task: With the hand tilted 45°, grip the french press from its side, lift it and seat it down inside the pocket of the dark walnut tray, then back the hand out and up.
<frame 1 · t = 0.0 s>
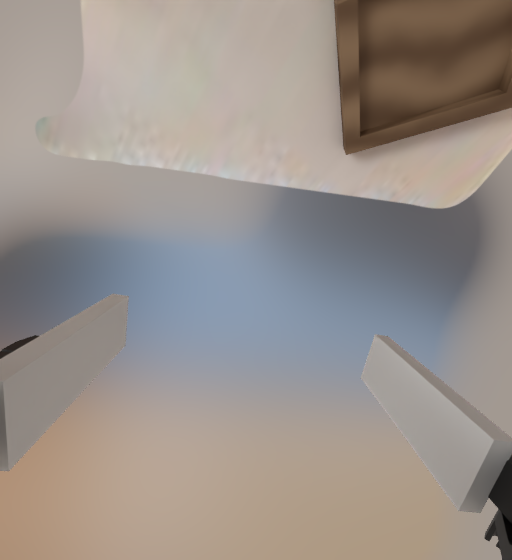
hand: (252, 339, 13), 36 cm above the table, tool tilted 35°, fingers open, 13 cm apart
walnut tray: (430, 45, 30), on the table
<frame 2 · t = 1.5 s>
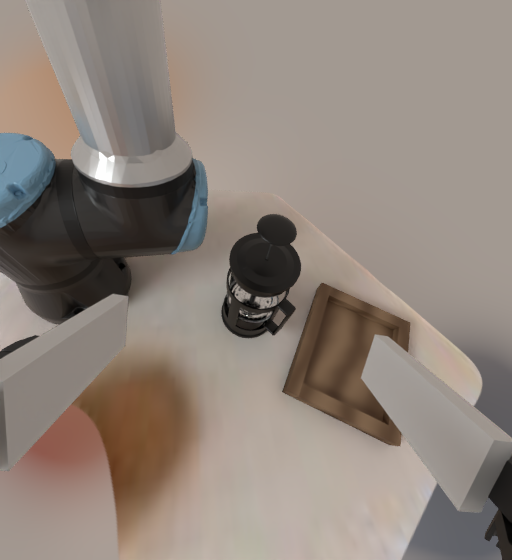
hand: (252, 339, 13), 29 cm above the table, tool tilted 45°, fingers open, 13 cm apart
french press: (249, 315, 45), on the table
walnut tray: (348, 356, 44), on the table
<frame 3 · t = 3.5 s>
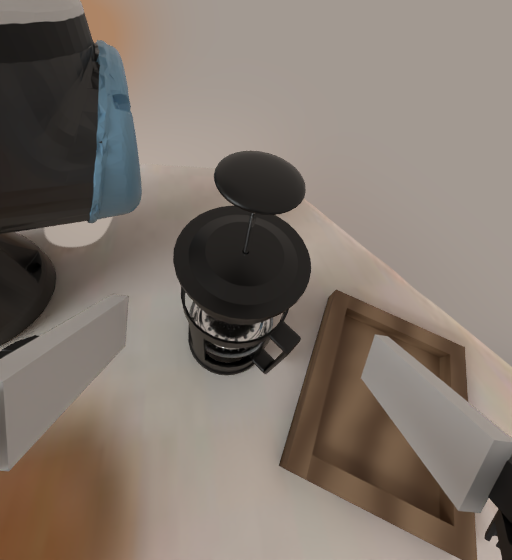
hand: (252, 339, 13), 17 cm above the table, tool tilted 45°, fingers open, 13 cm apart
french press: (230, 338, 30), on the table
walnut tray: (377, 399, 29), on the table
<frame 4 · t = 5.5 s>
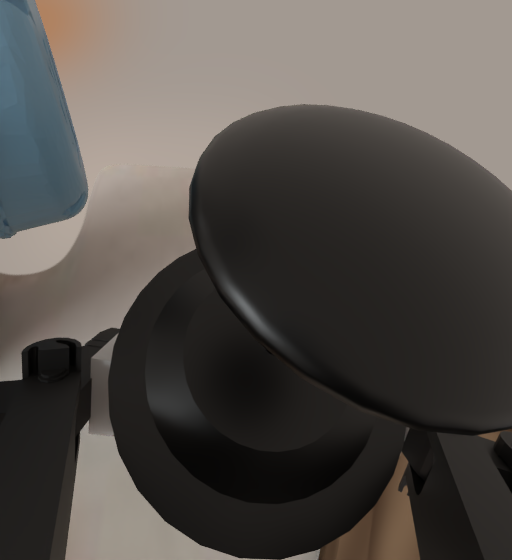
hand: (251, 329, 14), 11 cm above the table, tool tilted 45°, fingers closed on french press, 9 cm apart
french press: (231, 405, 22), on the table, touching gripper
walnut tray: (440, 497, 21), on the table
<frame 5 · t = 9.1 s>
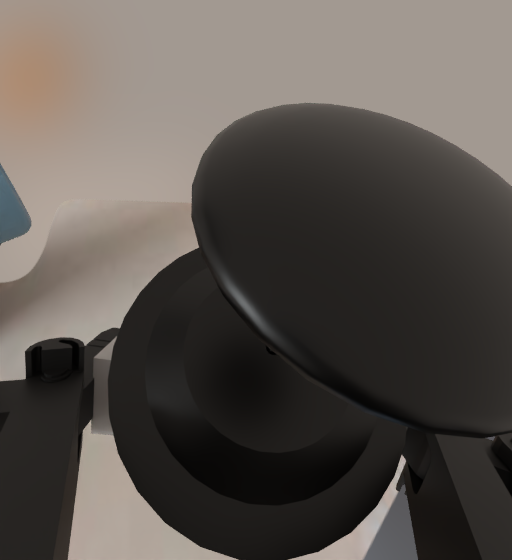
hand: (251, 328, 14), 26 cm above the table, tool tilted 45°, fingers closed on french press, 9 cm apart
french press: (231, 406, 22), point 15 cm above the table, touching gripper
when the fingers open (13 cm above the table, at t = 12.3 s): french press drops 1 cm, resting on walnut tray.
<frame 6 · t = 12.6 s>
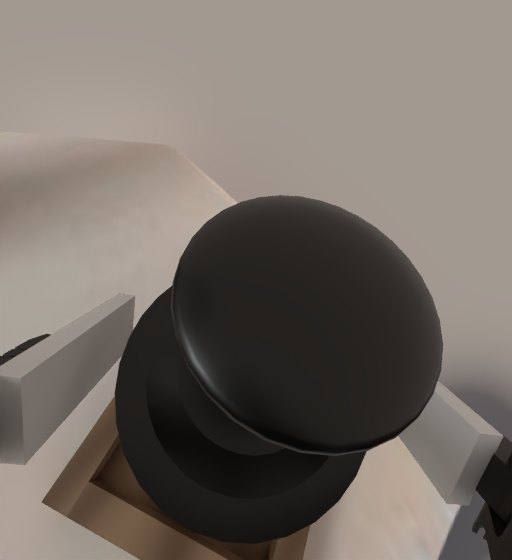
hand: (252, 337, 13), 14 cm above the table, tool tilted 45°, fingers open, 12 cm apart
french press: (229, 407, 23), point 1 cm above the table, touching walnut tray
walnut tray: (228, 406, 24), on the table
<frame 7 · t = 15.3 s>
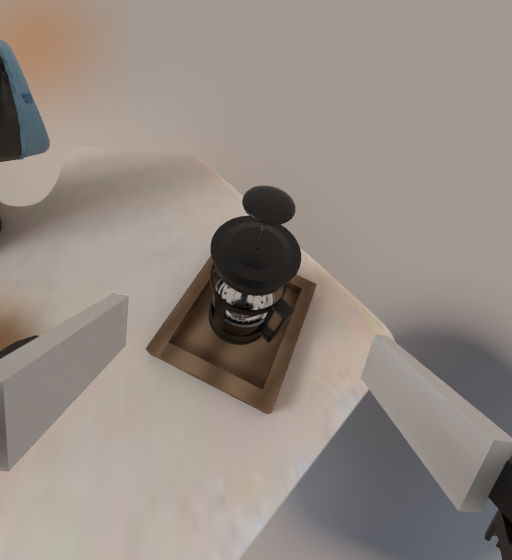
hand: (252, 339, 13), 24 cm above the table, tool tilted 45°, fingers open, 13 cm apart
french press: (241, 318, 38), point 1 cm above the table, touching walnut tray
walnut tray: (240, 318, 39), on the table
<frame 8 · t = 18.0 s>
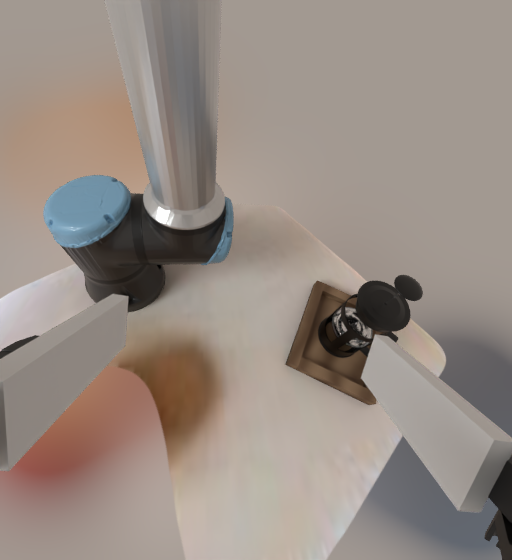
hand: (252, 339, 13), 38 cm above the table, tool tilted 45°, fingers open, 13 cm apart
french press: (339, 338, 54), point 1 cm above the table, touching walnut tray
walnut tray: (337, 338, 55), on the table
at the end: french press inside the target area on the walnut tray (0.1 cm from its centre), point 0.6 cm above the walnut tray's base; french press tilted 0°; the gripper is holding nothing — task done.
